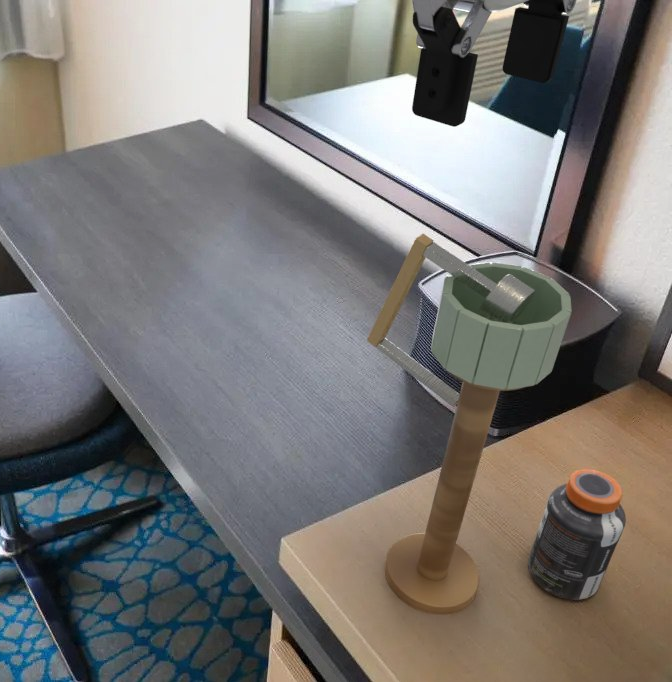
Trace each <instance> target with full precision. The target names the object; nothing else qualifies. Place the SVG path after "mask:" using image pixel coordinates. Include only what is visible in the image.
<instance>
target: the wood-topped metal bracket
mask: <svg viewBox="0 0 672 682" xmlns="http://www.w3.org/2000/svg"><path fill="white" fill-rule="evenodd" d="M426 259H427V260H429V261H430V262H432V263H433V264H435V265H436V266H438V267H439V268H441V269H442V270H444V271H445V272H446V273H448V275H449V274H451V275H452V276H454V277H455V278H457V279H458V280H460V281H461V282H463V283H464V284H466V285H467V286H468V287H470V288H471V289H473V290H474V291H476V292H477V293H479V294H480V295H482V296H483V297H485V298H486V299H485V300H484V302H483V303H482V305H481V307H480V310H479V312H480V313H481V314H482V315H484V316H485V317H487V318H488V319H490V320H491V321H497V322H504V323H510V324H512V323H513V322H514V321H515V320H516V319H517V318H518V317H519V316H520V314H521V313H522V312H523V311H524V310H525V308H526V307H527V306H528V304H529V303H530V302H531V300H532V299H533V297H534V295H535V293H536V291H535V290H534V289H532V288H531V287H529V286H528V285H526V284H525V283H523V282H522V281H520V280H518V279H517V278H515V277H514V276H512V275H511V274H508V275H507V276H505V277H504V278H503V279H502V280H501V281H500V282H499V283H498V284H496V283H495V282H493V281H492V280H490V279H489V278H487V277H486V276H484V275H483V274H481V273H480V272H478V271H477V270H475V269H474V268H472V267H471V266H469V265H470V264H468V263H466V262H465V261H463V260H462V259H461V258H459V257H457V256H456V255H455V254H453V253H452V252H450V251H448V250H447V249H446V248H444V247H443V246H441V245H439V244H438V243H437V242H435V241H434V239H432V238H431V237H430V236H428V235H426V233H421V234H420V235H418V236H417V237H416V238H415V239H414V241H413V243H412V245H411V247H410V249H409V251H408V254H407V255H406V257H405V259H404V262H403V264H402V266H401V268H400V270H399V272H398V274H397V276H396V278H395V280H394V282H393V284H392V285H391V289H390V290H389V292H388V295H387V297H386V299H385V301H384V303H383V306H381V309H380V311H379V314H378V316H377V317H376V320H375V321H374V323H373V326H372V328H371V330H370V333H369V334H368V337H367V338H366V342H368V343H369V344H370V345H372V346H373V347H374V348H376V350H378V351H379V352H381V353H382V354H383V355H385V356H386V357H387V358H388V359H390V360H391V361H393V362H394V363H395V364H397V365H398V366H399V367H400V368H402V369H403V370H404V371H406V372H407V373H408V374H409V375H411V376H412V377H413V378H414V379H416V380H417V381H419V382H420V383H421V384H422V385H424V386H425V387H426V388H428V389H429V390H430V391H431V392H433V393H434V394H436V396H438V397H440V398H441V399H442V400H443V401H445V402H446V403H447V404H449V405H450V406H451V407H452V408H454V407H455V406H457V403H458V399H459V395H460V392H457V391H456V390H455V389H454V388H452V387H451V386H450V385H449V384H447V383H446V382H445V381H444V380H442V379H440V378H439V377H438V376H436V375H435V374H434V373H432V372H431V371H430V370H428V369H427V368H426V367H425V366H423V365H422V364H421V363H419V362H418V361H416V359H414V358H413V357H411V356H410V355H409V354H408V353H406V352H404V351H403V349H401V348H399V347H398V346H397V345H395V344H394V343H393V342H391V341H390V340H389V339H387V338H386V337H387V335H388V333H389V331H390V329H391V327H392V325H393V323H394V321H395V319H396V317H397V315H398V313H399V311H400V309H401V307H402V305H403V303H404V301H405V299H406V297H407V295H408V293H409V291H410V289H411V287H412V286H413V283H414V281H415V280H416V277H417V276H418V273H419V272H420V269H421V267H422V266H423V264H424V262H425V260H426Z"/></svg>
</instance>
